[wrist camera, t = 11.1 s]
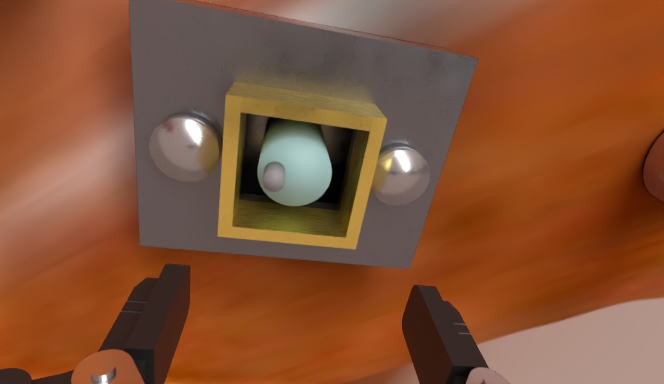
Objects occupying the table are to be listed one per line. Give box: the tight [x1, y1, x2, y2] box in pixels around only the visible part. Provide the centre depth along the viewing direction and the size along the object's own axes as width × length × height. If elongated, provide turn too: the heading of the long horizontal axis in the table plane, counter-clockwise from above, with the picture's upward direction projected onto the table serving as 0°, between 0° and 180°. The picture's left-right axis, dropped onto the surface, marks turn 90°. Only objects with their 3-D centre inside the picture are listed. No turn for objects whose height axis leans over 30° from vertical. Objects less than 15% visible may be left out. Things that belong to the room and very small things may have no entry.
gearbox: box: [129, 0, 478, 269], centre depth 26 cm, size 20×16×10 cm
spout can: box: [257, 117, 332, 206], centre depth 26 cm, size 4×4×10 cm
